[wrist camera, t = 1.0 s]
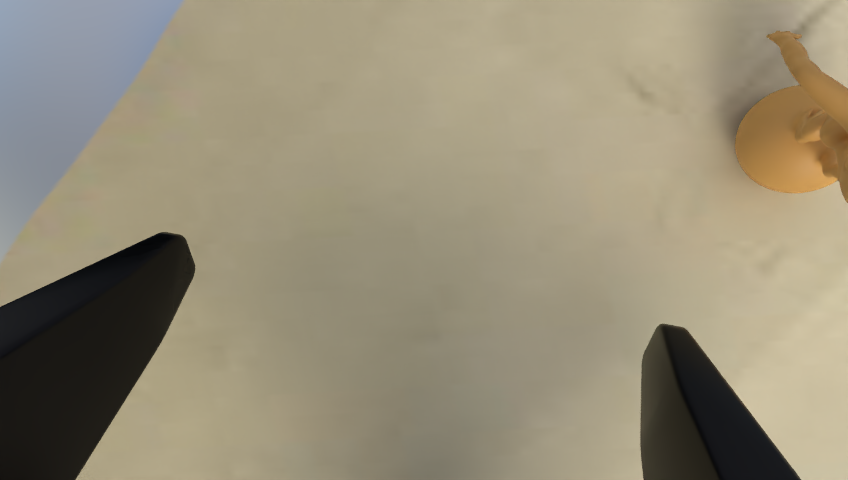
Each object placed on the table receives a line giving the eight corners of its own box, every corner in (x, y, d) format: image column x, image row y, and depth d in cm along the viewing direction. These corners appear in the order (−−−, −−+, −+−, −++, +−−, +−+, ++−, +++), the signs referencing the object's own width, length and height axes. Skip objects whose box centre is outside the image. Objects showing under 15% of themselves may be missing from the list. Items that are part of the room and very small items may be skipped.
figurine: (876, 194, 21) (1376, 182, 9) (747, 283, 22) (1053, 377, 10) (747, 35, 21) (1073, -178, 9) (625, 130, 22) (781, 44, 10)
